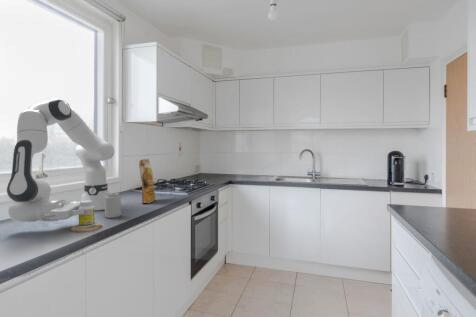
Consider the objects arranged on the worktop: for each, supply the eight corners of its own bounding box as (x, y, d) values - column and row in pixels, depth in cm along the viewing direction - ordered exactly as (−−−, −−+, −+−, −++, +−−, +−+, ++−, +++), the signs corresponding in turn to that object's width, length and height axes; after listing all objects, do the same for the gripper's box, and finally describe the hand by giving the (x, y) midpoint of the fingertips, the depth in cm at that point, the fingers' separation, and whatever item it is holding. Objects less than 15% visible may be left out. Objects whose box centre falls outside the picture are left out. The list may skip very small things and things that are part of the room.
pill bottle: (87, 223, 126) (86, 199, 125) (98, 224, 124) (97, 200, 123) (75, 227, 120) (74, 202, 119) (86, 228, 118) (86, 202, 118)
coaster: (77, 225, 127) (77, 223, 126) (105, 223, 129) (105, 221, 129) (66, 232, 115) (66, 231, 115) (97, 231, 117) (97, 229, 117)
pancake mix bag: (136, 205, 171) (135, 159, 170) (149, 199, 190) (148, 158, 189) (146, 205, 170) (145, 159, 169) (158, 199, 189) (158, 158, 188)
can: (118, 218, 138) (118, 194, 138) (102, 219, 137) (102, 195, 137) (122, 214, 146) (122, 192, 145) (107, 215, 144) (106, 192, 144)
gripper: (41, 208, 109) (79, 207, 111) (64, 199, 129) (95, 198, 131) (41, 224, 109) (79, 222, 111) (64, 212, 129) (96, 211, 132)
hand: (88, 209), depth 122 cm, fingers open, 8 cm apart
